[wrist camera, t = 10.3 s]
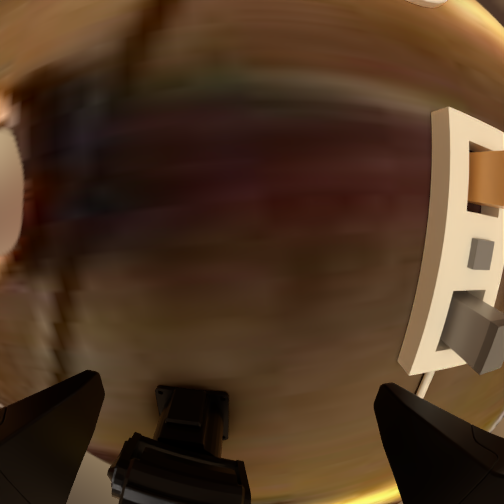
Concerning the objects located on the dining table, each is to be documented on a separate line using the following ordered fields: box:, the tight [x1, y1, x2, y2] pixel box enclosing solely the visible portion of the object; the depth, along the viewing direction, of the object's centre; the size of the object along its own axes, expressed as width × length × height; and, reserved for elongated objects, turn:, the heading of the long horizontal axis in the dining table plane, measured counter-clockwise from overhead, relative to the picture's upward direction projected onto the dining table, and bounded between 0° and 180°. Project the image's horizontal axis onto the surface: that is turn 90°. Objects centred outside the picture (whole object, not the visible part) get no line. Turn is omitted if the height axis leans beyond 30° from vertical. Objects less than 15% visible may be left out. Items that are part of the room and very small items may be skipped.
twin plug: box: [440, 291, 504, 375], centre depth 18 cm, size 4×3×8 cm
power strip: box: [397, 107, 504, 399], centre depth 20 cm, size 32×9×3 cm, turn 177°
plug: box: [467, 150, 504, 209], centre depth 15 cm, size 4×3×8 cm
